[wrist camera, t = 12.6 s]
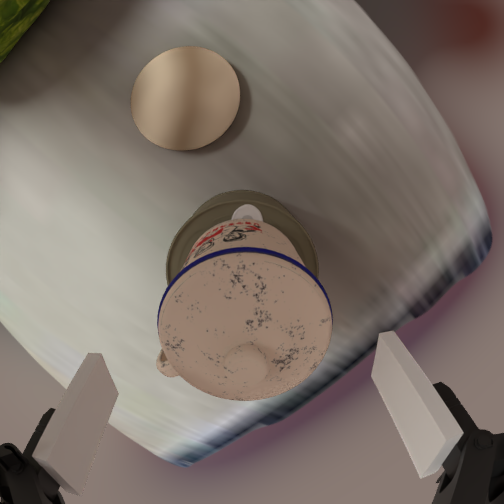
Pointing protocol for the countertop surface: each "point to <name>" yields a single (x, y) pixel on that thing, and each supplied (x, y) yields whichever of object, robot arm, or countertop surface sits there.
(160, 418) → the countertop surface
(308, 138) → the countertop surface
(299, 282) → the teacup with lid
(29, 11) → the lettuce
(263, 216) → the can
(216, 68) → the beech coaster
